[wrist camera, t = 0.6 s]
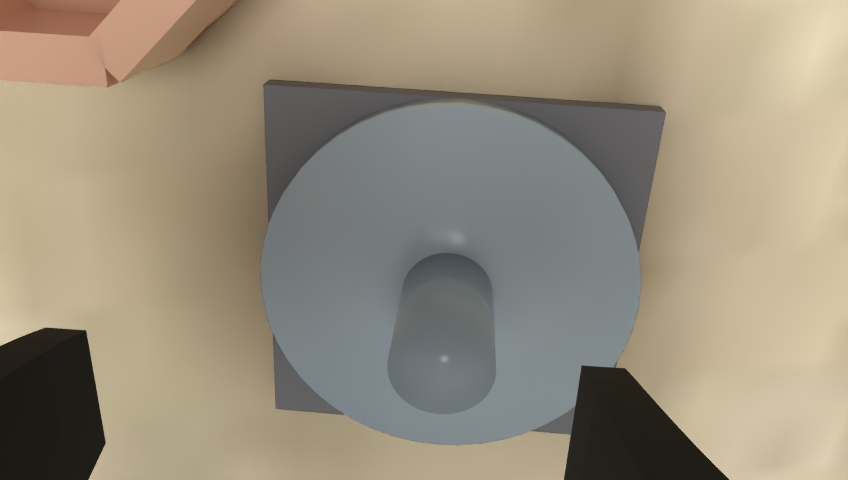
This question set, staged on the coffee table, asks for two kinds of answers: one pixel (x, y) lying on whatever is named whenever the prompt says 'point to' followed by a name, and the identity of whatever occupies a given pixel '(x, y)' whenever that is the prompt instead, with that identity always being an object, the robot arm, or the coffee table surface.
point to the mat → (344, 104)
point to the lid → (450, 271)
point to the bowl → (97, 37)
